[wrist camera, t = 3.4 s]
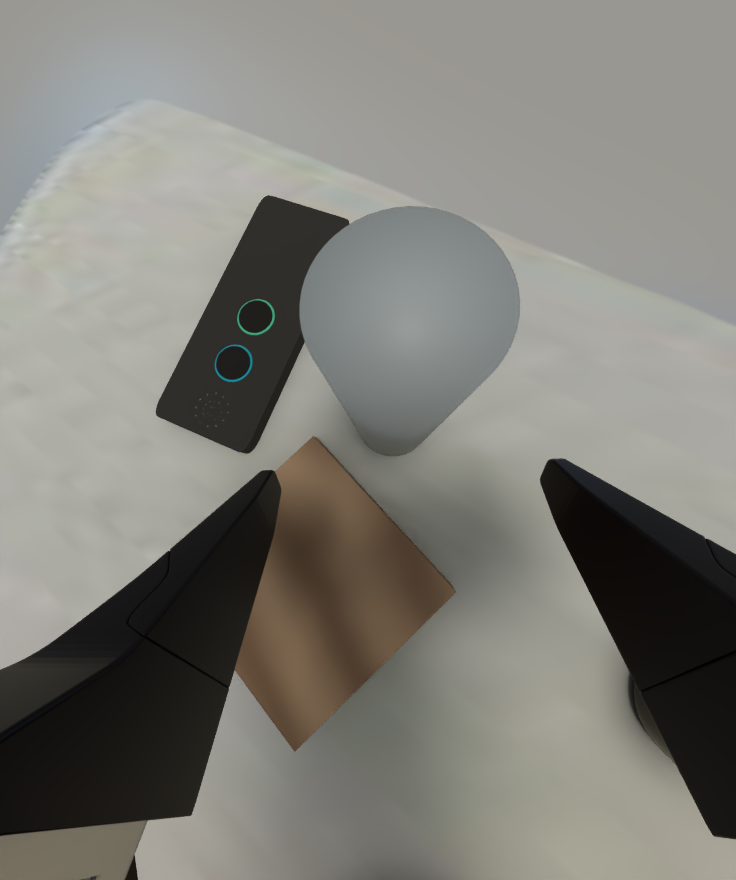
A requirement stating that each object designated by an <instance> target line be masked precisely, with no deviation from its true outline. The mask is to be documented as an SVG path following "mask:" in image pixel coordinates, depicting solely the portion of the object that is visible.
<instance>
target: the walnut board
mask: <svg viewBox="0 0 736 880" xmlns="http://www.w3.org/2000/svg"><path fill="white" fill-rule="evenodd" d="M275 473H276V475H277V478H278V480H279V483H280V485H281V498H280V504H279V509H278V515H277V521H276V527H275V532H274V536H273V540H272V543H271V547H270V550H269V554H268V557H267V560H266V564H265V567H264V571H263V574H262V577H261V581H260V584H259V588H258V591H257V594H256V598H255V601H254V605H253V608H252V612H251V615H250V618H249V622H248V625H247V629H246V632H245V635H244V639H243V642H242V646H241V649H240V652H239V656H238V659H237V663H236V666H235V671H236V672H237V674H238V675H239V676H240V678H241V679H242V680H243V682H244V683H245V684H246V686H247V687H248V689H249V690H250V691H251V693H252V694H253V695H254V697H255V698H256V699H257V701H258V702H259V704H260V705H261V706H262V708H263V709H264V710H265V712H266V713H267V715H268V716H269V717H270V719H271V720H272V721H273V723H274V724H275V725H276V727H277V728H278V730H279V731H280V732H281V734H282V735H283V736H284V738H285V739H286V740H287V742H288V743H289V745H290V746H291V747H292V749H293V750H294V751H296V750H297V749H298V748H299V747H300V746H301V745H302V744H303V743H304V742H305V741H306V740H307V739H308V738H309V737H310V736H311V735H312V734H313V733H314V732H315V731H316V730H317V729H318V728H319V727H320V726H321V725H322V724H323V723H324V722H325V721H326V720H327V719H328V718H329V717H330V716H331V715H332V714H333V713H334V712H335V711H336V710H337V709H338V708H339V707H340V706H341V705H342V704H343V703H344V702H345V701H346V700H347V699H348V698H349V697H350V696H351V695H352V694H353V693H354V692H356V691H357V690H358V689H359V688H360V687H361V686H362V685H363V684H364V683H365V682H366V681H367V680H368V679H369V678H370V677H371V676H372V675H373V674H374V673H375V672H376V671H377V670H378V669H379V668H380V667H381V666H382V665H383V664H384V663H385V662H386V661H387V660H388V659H389V658H390V657H391V656H392V655H393V654H394V653H395V652H396V651H397V650H398V649H399V648H400V647H401V646H402V645H403V644H404V643H405V642H406V641H407V640H408V639H409V638H410V637H411V636H412V635H413V634H414V633H415V632H416V631H417V630H418V629H419V628H420V627H421V626H422V625H423V624H424V623H425V622H426V621H427V620H428V619H429V618H430V617H431V616H432V615H433V614H434V613H435V612H436V611H437V610H438V609H439V608H440V607H441V606H442V605H443V604H444V603H445V602H446V601H447V600H448V599H449V598H450V597H451V596H452V595H453V594H454V593H455V592H456V591H455V590H454V588H453V586H452V585H451V584H450V583H449V582H448V581H447V580H446V579H445V577H444V576H443V575H442V574H441V573H440V572H439V571H438V570H437V569H436V568H435V567H434V565H433V564H432V563H431V562H430V561H429V560H428V559H427V558H426V557H425V556H424V555H423V553H422V552H421V551H420V550H419V549H418V548H417V547H416V546H415V545H414V544H413V542H412V541H411V540H410V539H409V538H408V537H407V536H406V535H405V534H404V533H403V532H402V530H401V529H400V528H399V527H398V526H397V525H396V524H395V523H394V522H393V521H392V520H391V518H390V517H389V516H388V515H387V514H386V513H385V512H384V511H383V510H382V509H381V508H380V506H379V505H378V504H377V503H376V502H375V501H374V500H373V499H372V498H371V497H370V495H369V494H368V493H367V492H366V491H365V490H364V489H363V488H362V487H361V486H360V485H359V483H358V482H357V481H356V480H355V479H354V478H353V477H352V476H351V475H350V474H349V473H348V471H347V470H346V469H345V468H344V467H343V466H342V465H341V464H340V463H339V462H338V461H337V459H336V458H335V457H334V456H333V455H332V454H331V453H330V452H329V451H328V450H327V448H326V447H325V446H324V445H323V444H322V443H321V442H320V441H319V440H318V439H317V438H316V437H314V436H313V437H312V438H311V439H310V440H309V441H308V442H307V443H306V444H304V445H303V446H302V447H301V448H300V449H299V450H298V451H297V452H296V453H295V454H294V455H293V456H292V457H290V458H289V459H288V460H287V461H286V462H285V463H284V464H283V465H282V466H281V467H280V468H279V469H278V470H276V471H275Z"/></svg>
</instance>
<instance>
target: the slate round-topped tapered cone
mask: <svg viewBox="0 0 736 880" xmlns="http://www.w3.org/2000/svg"><path fill="white" fill-rule="evenodd" d="M519 316H520V297H519V288H518V284H517V280H516V277H515V274H514V271H513V269H512V267H511V264H510V262H509V260H508V259H507V257H506V256H505V254H504V252H503V251H502V249H501V248H500V247H499V246H498V245H497V243H496V242H495V241H494V240H493V239H492V238H491V237H490V236H489V235H488V234H487V233H486V232H485V231H483V230H482V229H480V228H479V227H478V226H476V225H475V224H473V223H472V222H470V221H468V220H466V219H464V218H462V217H460V216H458V215H455V214H453V213H450V212H447V211H443V210H439V209H435V208H428V207H413V206H407V207H397V208H391V209H386V210H381V211H378V212H375V213H372V214H369V215H367V216H365V217H362V218H360V219H358V220H356V221H354V222H353V223H351V224H349V225H348V226H346V227H344V228H343V229H342V230H341V231H339V232H338V233H337V234H336V235H334V236H333V237H332V238H331V239H330V240H329V241H328V242H327V243H326V244H325V245H324V247H323V248H322V249H321V251H320V252H319V253H318V254H317V256H316V257H315V259H314V261H313V262H312V264H311V266H310V268H309V270H308V272H307V275H306V277H305V280H304V283H303V287H302V291H301V297H300V324H301V330H302V334H303V337H304V341H305V343H306V346H307V348H308V350H309V352H310V355H311V356H312V358H313V359H314V361H315V363H316V364H317V366H318V367H319V369H320V371H321V372H322V374H323V375H324V377H325V379H326V380H327V382H328V383H329V385H330V387H331V388H332V390H333V392H334V393H335V395H336V396H337V398H338V400H339V401H340V403H341V404H342V406H343V408H344V409H345V411H346V412H347V414H348V416H349V417H350V419H351V420H352V422H353V424H354V425H355V427H356V429H357V430H358V432H359V433H360V435H361V437H362V438H363V440H364V441H365V443H366V444H367V445H368V446H369V447H370V448H371V449H373V450H374V451H376V452H378V453H380V454H383V455H387V456H399V455H403V454H406V453H408V452H410V451H412V450H414V449H415V448H416V447H417V446H418V445H419V444H420V443H422V442H423V441H424V440H425V439H426V438H427V437H428V436H429V435H430V434H431V433H432V432H433V431H434V430H435V429H436V428H437V427H438V426H439V425H440V424H441V423H442V422H443V421H444V420H445V419H446V418H447V417H448V416H449V415H450V414H451V413H452V412H453V411H454V410H455V409H456V408H457V407H458V406H459V405H460V404H461V403H462V402H463V401H464V400H466V399H467V398H468V397H469V396H470V395H471V394H472V393H473V392H474V391H475V390H476V389H477V388H478V387H479V386H480V385H481V384H482V383H483V382H484V381H485V380H486V379H487V378H488V377H489V376H490V375H491V374H492V373H493V372H494V370H495V369H496V368H497V367H498V366H499V365H500V363H501V362H502V360H503V359H504V357H505V356H506V354H507V352H508V350H509V348H510V346H511V344H512V342H513V340H514V337H515V334H516V331H517V327H518V321H519Z"/></svg>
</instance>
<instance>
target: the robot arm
mask: <svg viewBox="0 0 736 880" xmlns="http://www.w3.org/2000/svg"><path fill="white" fill-rule="evenodd" d="M540 483H541V486H542V489H543V492H544V494H545V497H546V500H547V502H548V505H549V508H550V510H551V513H552V516H553V519H554V521H555V524H556V526H557V528H558V530H559V532H560V534H561V536H562V538H563V540H564V542H565V544H566V546H567V548H568V550H569V552H570V554H571V556H572V558H573V560H574V562H575V564H576V566H577V568H578V570H579V572H580V574H581V576H582V578H583V580H584V582H585V584H586V586H587V588H588V590H589V592H590V594H591V596H592V598H593V600H594V602H595V604H596V606H597V608H598V610H599V612H600V614H601V616H602V618H603V620H604V622H605V624H606V626H607V628H608V630H609V632H610V634H611V636H612V638H613V640H614V642H615V644H616V646H617V648H618V650H619V652H620V654H621V656H622V658H623V660H624V662H625V664H626V666H627V668H628V670H629V672H630V674H631V676H632V678H633V679H634V681H635V683H636V685H637V687H638V689H639V691H641V692H640V694H641V696H642V698H643V700H644V702H645V704H646V706H647V708H648V710H649V712H650V714H651V716H652V718H653V720H654V722H655V724H656V726H657V728H658V730H659V732H660V734H661V736H662V738H663V740H664V742H665V744H666V746H667V748H668V750H669V752H670V753H671V755H672V757H673V759H674V761H675V763H676V765H677V767H678V769H679V771H680V773H681V775H682V777H683V779H684V781H685V783H686V785H687V787H688V789H689V791H690V793H691V795H692V797H693V799H694V801H695V803H696V805H697V807H698V809H699V811H700V813H701V815H702V817H703V819H704V821H705V823H706V825H707V826H708V828H709V830H710V831H711V833H712V835H713V836H715V837H722V838H729V839H736V554H734V553H732V552H731V551H729V550H727V549H725V548H723V547H722V546H720V545H718V544H716V543H715V542H713V541H711V540H709V539H705V538H704V537H703V536H702V535H700V534H698V533H696V532H695V531H693V530H691V529H689V528H688V527H686V526H684V525H682V524H680V523H679V522H677V521H675V520H673V519H671V518H670V517H668V516H666V515H664V514H662V513H661V512H659V511H657V510H655V509H653V508H652V507H650V506H648V505H646V504H645V503H643V502H641V501H639V500H637V499H636V498H634V497H632V496H630V495H628V494H627V493H625V492H623V491H621V490H619V489H618V488H616V487H614V486H612V485H611V484H609V483H607V482H605V481H603V480H602V479H600V478H598V477H596V476H594V475H593V474H591V473H589V472H587V471H585V470H584V469H582V468H580V467H578V466H576V465H575V464H573V463H571V462H569V461H568V460H566V459H562V458H560V459H550V460H548V461H547V463H546V466H545V468H544V470H543V472H542V475H541V477H540ZM280 498H281V485H280V483H279V480H278V478H277V475H276V473H275V472H274V471H273V470H265V471H261V472H259V473H258V474H257V475H256V476H255V477H254V478H252V479H251V480H250V481H249V482H248V483H247V484H245V485H244V486H243V487H242V488H241V489H240V490H239V491H237V492H236V493H235V494H234V495H233V496H232V497H230V498H229V499H228V500H227V501H226V502H225V503H223V504H222V505H221V506H220V507H219V508H218V509H216V510H215V511H214V512H213V513H212V514H211V515H209V516H208V517H207V518H206V519H205V520H204V521H202V522H201V523H200V524H199V525H198V526H197V527H196V528H194V529H193V530H192V531H191V532H190V533H189V534H187V535H186V536H185V537H184V538H183V539H182V540H180V541H179V542H178V543H177V544H176V545H175V546H173V547H172V548H171V549H170V551H168V552H166V553H165V554H164V555H163V556H162V557H161V558H159V559H158V560H157V561H156V562H155V563H153V564H152V565H151V566H150V567H149V568H147V569H146V570H145V571H144V572H143V573H141V574H140V575H139V576H138V577H137V578H135V579H134V580H133V581H132V582H130V583H129V584H128V585H126V586H125V587H124V588H123V589H121V590H120V591H119V592H117V593H116V594H115V595H114V596H112V597H111V598H110V599H108V600H107V601H106V602H104V603H103V604H102V605H100V606H99V607H98V608H97V609H95V610H94V611H93V612H91V613H90V614H89V615H87V616H86V617H85V618H83V619H82V620H81V621H80V622H78V623H77V624H76V625H74V626H73V627H72V628H70V629H69V630H68V631H66V632H65V633H64V634H62V635H61V636H60V637H58V638H57V639H56V640H54V641H53V642H51V643H50V644H49V645H47V646H45V647H44V648H42V649H41V650H39V651H38V652H36V653H34V654H32V655H31V656H29V657H27V658H25V659H23V660H21V661H19V662H17V663H15V664H13V665H10V666H8V667H6V668H3V669H1V670H0V880H138V877H137V869H136V862H135V852H136V850H137V847H138V844H139V842H140V839H141V836H142V834H143V831H144V829H145V826H146V823H147V821H148V820H156V819H165V818H175V817H184V816H191V815H192V812H193V809H194V806H195V803H196V800H197V796H198V793H199V790H200V786H201V783H202V779H203V776H204V773H205V769H206V766H207V762H208V759H209V755H210V752H211V749H212V745H213V742H214V738H215V735H216V732H217V728H218V725H219V721H220V718H221V715H222V711H223V708H224V704H225V701H226V697H227V694H228V691H229V686H230V683H231V680H232V676H233V673H234V670H235V666H236V663H237V659H238V656H239V652H240V649H241V646H242V642H243V639H244V635H245V632H246V629H247V625H248V622H249V618H250V615H251V612H252V608H253V605H254V601H255V598H256V594H257V591H258V588H259V584H260V581H261V577H262V574H263V571H264V567H265V564H266V560H267V557H268V554H269V550H270V547H271V543H272V540H273V536H274V532H275V527H276V521H277V515H278V509H279V504H280Z"/></svg>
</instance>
